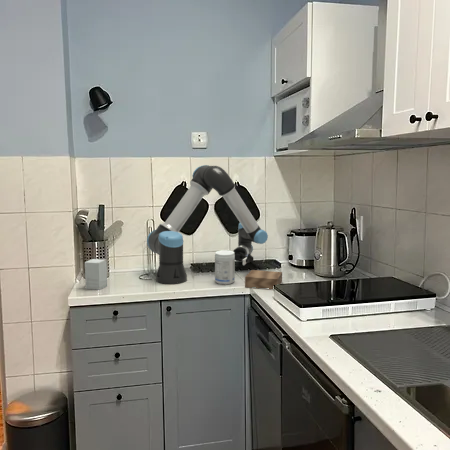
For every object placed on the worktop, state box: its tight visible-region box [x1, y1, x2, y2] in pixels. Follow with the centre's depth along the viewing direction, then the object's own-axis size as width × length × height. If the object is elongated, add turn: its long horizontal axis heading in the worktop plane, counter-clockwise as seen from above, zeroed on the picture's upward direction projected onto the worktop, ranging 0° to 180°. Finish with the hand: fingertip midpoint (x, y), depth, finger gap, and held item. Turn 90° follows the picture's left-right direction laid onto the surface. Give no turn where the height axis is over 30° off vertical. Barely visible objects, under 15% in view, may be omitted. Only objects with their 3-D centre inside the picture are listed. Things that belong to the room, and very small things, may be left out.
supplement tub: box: [214, 249, 236, 285], centre depth 224 cm, size 10×10×15 cm
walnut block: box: [244, 269, 283, 290], centre depth 221 cm, size 15×14×5 cm
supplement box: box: [84, 258, 108, 291], centre depth 214 cm, size 7×7×13 cm
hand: (230, 261), depth 233 cm, fingers open, 13 cm apart
